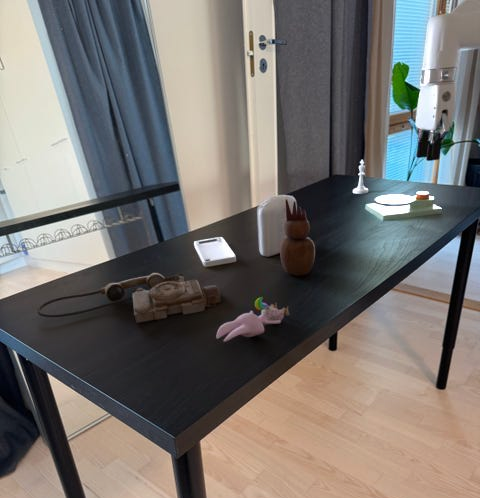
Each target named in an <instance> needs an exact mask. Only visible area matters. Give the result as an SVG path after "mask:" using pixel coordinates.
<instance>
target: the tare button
mask: <svg viewBox="0 0 480 498" xmlns="http://www.w3.org/2000/svg"><path fill="white" fill-rule="evenodd" d="M415 196H416V199H418V200H427V199H429V196H430V192H429V191H426V190H425V191H423V190H422V191H421V190H420V191H417V192H416V195H415Z"/></svg>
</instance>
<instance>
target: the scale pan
mask: <svg viewBox="0 0 480 498" xmlns="http://www.w3.org/2000/svg"><path fill="white" fill-rule="evenodd" d="M413 202H414V198H413V197H412V196H410V195H406V194H384V195H380V196H377V197H375V198H374V203H376V204H378V205H382V206H391V207H396V206H406V205H410V204H412V203H413Z"/></svg>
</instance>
